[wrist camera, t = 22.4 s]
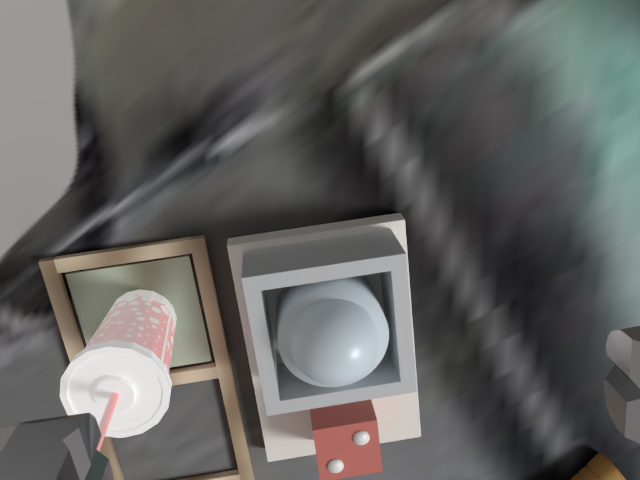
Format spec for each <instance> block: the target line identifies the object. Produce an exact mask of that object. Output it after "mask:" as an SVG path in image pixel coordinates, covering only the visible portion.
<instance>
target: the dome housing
mask: <svg viewBox="0 0 640 480" xmlns="http://www.w3.org/2000/svg"><path fill="white" fill-rule="evenodd" d="M227 250H228V255H229V260H230V266H231V271H232V276H233V281H234V286H235V292H236V297H237V302H238V307H239V313H240V318H241V323H242V328H243V333H244V339H245V344H246V349H247V354H248V360H249V365H250V370H251V375H252V380H253V386H254V391H255V396H256V401H257V407H258V412H259V417H260V422H261V428H262V433H263V438H264V443H265V448H266V454H267V459H268V462H271V461H277V460H283V459H289V458H295V457H301V456H307V455H313V454H316V456H317V463H318V469H319V476H320V480H335V479H341V478H347V477H353V476H359V475H365V474H371V473H377V472H383V470H382V461H381V451H380V443H386V442H392V441H398V440H404V439H410V438H416V437H421V428H420V415H419V402H418V388H417V375H416V361H415V348H414V335H413V321H412V308H411V295H410V281H409V268H408V255H407V241H406V228H405V219H404V218H403V216H402V215H401V214H400V213H395V214H388V215H381V216H375V217H368V218H361V219H354V220H348V221H341V222H334V223H327V224H320V225H314V226H307V227H300V228H293V229H287V230H280V231H273V232H266V233H260V234H253V235H246V236H239V237H232V238H228V241H227ZM362 275H363V276H364V277H365V278H366V279H367V280H368V281H369V283H370V284H371V286H372V288H373V290H374V292H375V294H376V296H377V299H378V301H379V303H380V306H381V308H382V311H383V313H384V315H385V318H386V320H387V323H388V328H389V342H388V347H387V350H386V353H385V355H384V357H383V359H382V360H381V362H380V363H379V364H378V366H377V367H376V368H375V369H374V370H373V371H372V372H371V373H370V374H368V375H367V376H366V377H364V378H362V379H361V380H359V381H357V382H354V383H352V384H349V385H345V386H341V387H320V386H315V385H312V384H309V383H306V382H304V381H302V380H301V379H299V378H298V377H296V376H295V375H294V374H293V373H292V372H290V370H289V369H288V368H287V367H286V365H285V364H284V362H283V360H282V358H281V355H280V352H279V347H278V334H277V317H276V307H277V301H278V298H279V295H280V293H281V291H282V289H283V288H284V287H289V286H296V285H302V284H309V283H316V282H322V281H329V280H335V279H342V278H348V277H355V276H362Z"/></svg>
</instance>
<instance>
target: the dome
mask: <svg viewBox="0 0 640 480" xmlns="http://www.w3.org/2000/svg"><path fill="white" fill-rule="evenodd" d="M276 317H277V334H278V347H279V352H280V355H281V358H282V360H283V362H284V364H285V365H286V367H287V368H288V369H289V370H290V372H292V373H293V374H294V375H295V376H296V377H298V378H299V379H301V380H302V381H304V382H306V383H309V384H312V385H315V386H320V387H341V386H345V385H349V384H352V383H354V382H357V381H359V380H361V379H362V378H364V377H366V376H367V375H368V374H370V373H371V372H372V371H373V370H374V369H375V368H376V367H377V366H378V364H379V363H380V362H381V360H382V359H383V357H384V355H385V353H386V350H387V347H388V342H389V328H388V323H387V320H386V318H385V315H384V313H383V311H382V308H381V306H380V303H379V301H378V299H377V296H376V294H375V292H374V290H373V288H372V286H371V284H370V283H369V281H368V280H367V279H366V278H365V277H364V276H363V275H362V276H355V277H348V278H342V279H335V280H329V281H322V282H316V283H309V284H302V285H296V286H289V287H284V288H283V289H282V291H281V293H280V295H279V298H278V301H277V307H276Z"/></svg>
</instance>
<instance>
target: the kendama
mask: <svg viewBox="0 0 640 480" xmlns="http://www.w3.org/2000/svg"><path fill="white" fill-rule="evenodd" d="M571 480H626V479H625V478H624V476H623V475H622V474H621V473H620V471H619V470H618V469H617V468H616V467H615V466H614V465H613V464H612V463H611V462H610V461H609V460H608V459H607V458H606V457H605V456H604V455H603V454H601V453H597V454H596V455H595V457H593V458H592V459H591V460H590V461H589V462H588V463H587V466H584V467H583V468H582V469H581V470H580V471H579V472H578V473H577V474H576V475H575V476H574V477H573V478H572V479H571Z"/></svg>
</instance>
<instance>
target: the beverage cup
mask: <svg viewBox="0 0 640 480" xmlns="http://www.w3.org/2000/svg"><path fill="white" fill-rule="evenodd" d="M176 318H177V317H176V314H175V311H174V308H173V306H172V305H171V303H170V302H169V301H168V300H167V299H166V298H165V297H164V296H162V295H160V294H158V293H156V292H154V291H149V290H141V289H139V290H135V291H130V292H127V293H125V294H124V295H122V296H121V297H119V298H118V299H117V300H116V301H115V303H114V305H113V306H112V308H111V309H110V311H109V312H108V314H107V315H106V317H105V318H104V320H103V321H102V323H101V324H100V326H99V327H98V329H97V330H96V332H95V334H94V335H93V337H92V338H91V340H90V341H89V343H88V344H87V346H86V347H85V349H84V350H82V351H81V352H79V353H78V354H76V355H75V356H74V358H73V360H72V361H71V362H70V364H69V366H68V367H67V369H66V371H65V372H64V374H63V376H62V378H61V383H60V399H61V401H62V403H63V406H64V408H65V410H66V413H67V414H68V415H76V414H83V413H90V414H92V415H93V416H94V417H96V420H97V423H98V426H99V429H100V432H101V435H102V436H101V438H100V441H99V444H98V447H97V450H98V451H100V448H101V445H102V443H103V440H104V437H105V436H106V437H117V438H124V437H128V436H133V435H137V434H142V433H143V432H145V431H147V430H148V429H150V428H151V427H153V426H154V425H156V424H157V423H159V421H160V420H161V418H162V417H163V415H164V414H165V412H166V411H167V409H168V407H169V401H170V393H171V386H172V381H171V379H170V376H169V370H170V363H171V356H172V348H173V341H174V333H175V326H176Z"/></svg>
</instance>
